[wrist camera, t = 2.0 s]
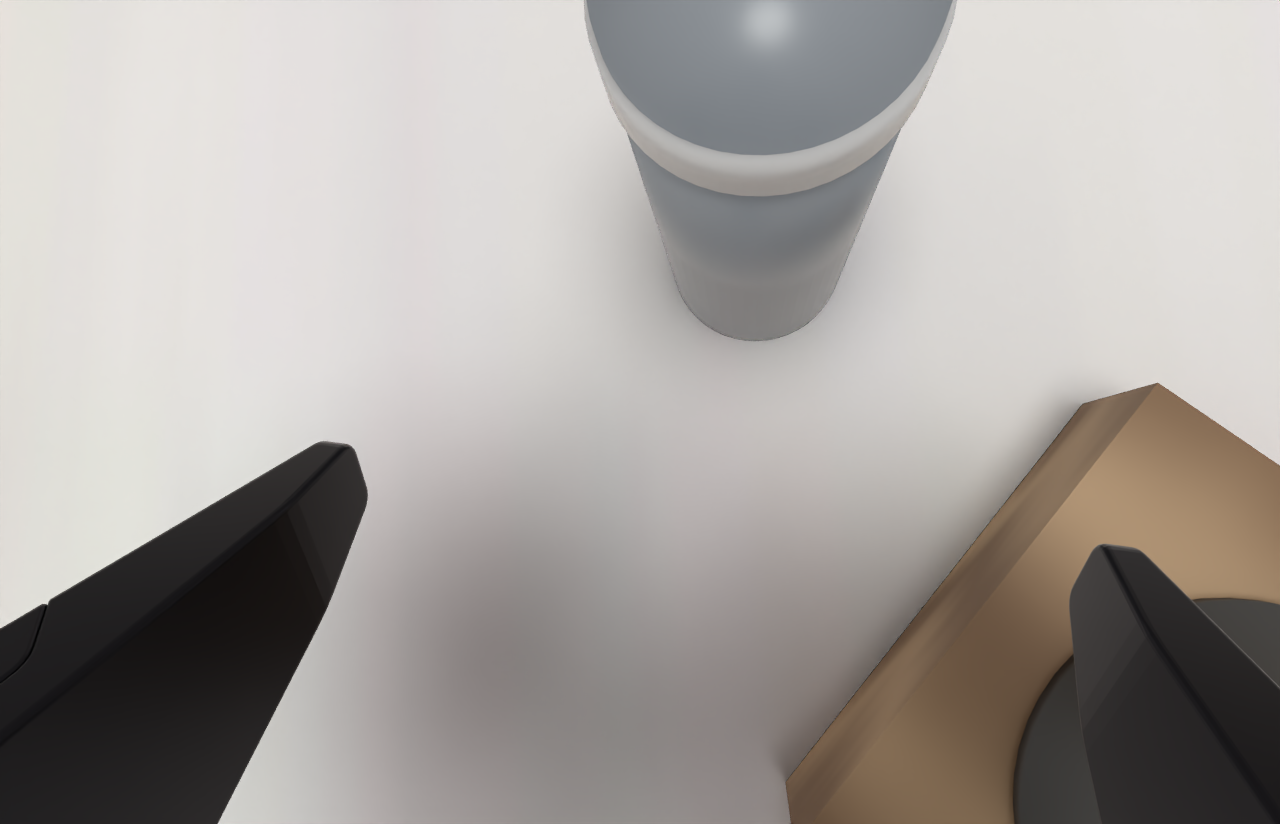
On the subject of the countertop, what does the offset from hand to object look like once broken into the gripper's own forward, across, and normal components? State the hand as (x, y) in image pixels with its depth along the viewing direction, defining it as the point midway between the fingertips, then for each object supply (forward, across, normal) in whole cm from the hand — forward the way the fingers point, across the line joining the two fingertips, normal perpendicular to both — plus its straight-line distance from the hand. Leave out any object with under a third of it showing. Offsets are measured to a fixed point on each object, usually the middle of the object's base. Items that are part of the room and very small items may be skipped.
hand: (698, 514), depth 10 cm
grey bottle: (+14, 0, +4) cm, 15 cm away
